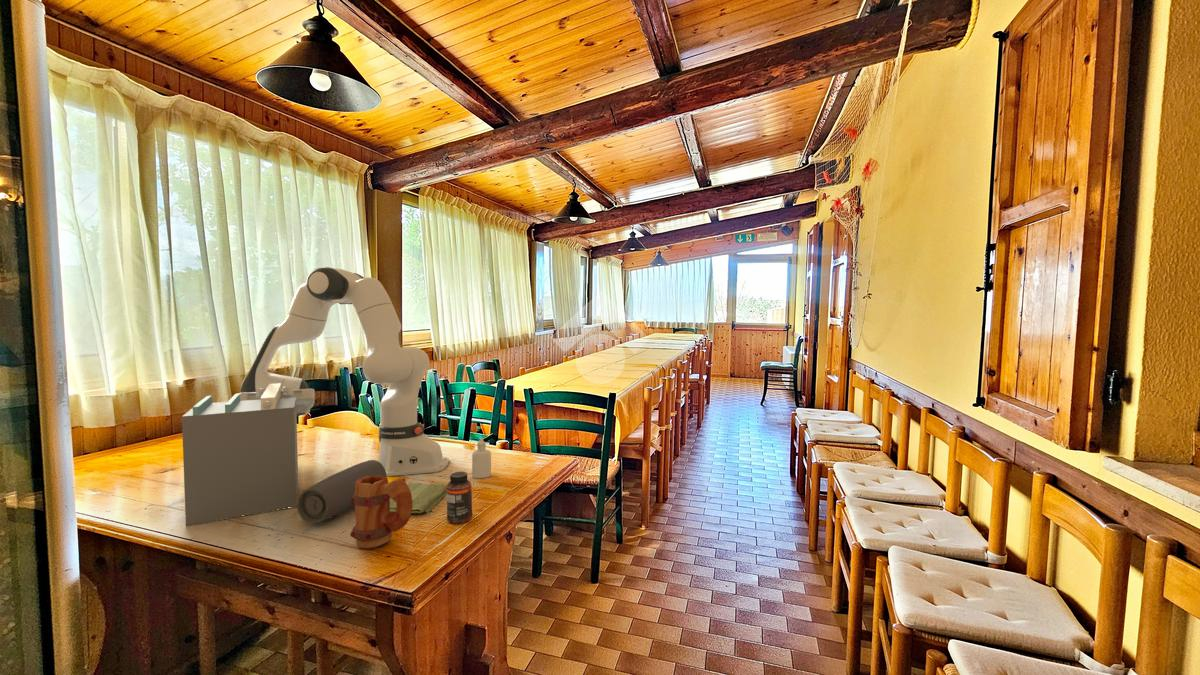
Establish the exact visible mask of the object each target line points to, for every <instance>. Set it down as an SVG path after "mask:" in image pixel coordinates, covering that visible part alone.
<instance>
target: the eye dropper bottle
mask: <svg viewBox="0 0 1200 675" xmlns="http://www.w3.org/2000/svg"><path fill="white" fill-rule="evenodd" d="M471 459H472V460H471V461H472V462H471V467H472V468H471V470H472V472H471V473H472V478H473V479H486V478H491V476H492V453H491V450H488V449H486V441H484V439H483V437H480V438H479V441H478V442H477V449H476V450H474V451H473V452H472V454H471Z"/></svg>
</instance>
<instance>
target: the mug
mask: <svg viewBox="0 0 1200 675" xmlns="http://www.w3.org/2000/svg"><path fill="white" fill-rule="evenodd" d="M407 484H408V483H407V482H406V480H405V479H403V478H402V477H401V478H400V477H399V478H396V479H393V480H391V481H389V479H388V476H387V477H384V476H376V477H374V476H366V477H362V478H361V479H357V481H356V483H355V493H354V494H353V497H352V498H351V499H350V502H351V503H353V504H355V508H354V513H355V525H354V526H353V528H352V531H351V532H350V533H349V534H350V537H351V538H353V539H354V540H355V542H356V544H357V546H358V547H359V548H361V549H373V548H377V547H380V546H383V545H384V544H386V543H388V542H389V541H390V540H392V538H393V533H395V532H397V531H400V530H401V529H403V528H404V526H406V524H408V522H409V520H410V519H411V516H412V513H411V512H412V502H413V501H412V495H411V491H410V489H409V487H408V485H407ZM390 498H392V499H393V500H394V501H395V502H396V503H397V504H396V512H395V513H391V512H390Z"/></svg>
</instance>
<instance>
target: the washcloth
mask: <svg viewBox="0 0 1200 675" xmlns="http://www.w3.org/2000/svg"><path fill="white" fill-rule="evenodd" d="M406 484H407V485H408V487H409V489H410V491H411V495H412V501H413V502H412V512H411V514H417V515H418V514H423V515H428V514H429V513H430V512H432V510H433V509H434V508H435V507H436V506H437V505H438V504H439V502H440V501H441V500H443V498H444V497H446V487H447V484H445V483H438V484H437V483H423V482H415V481H414V482H413V481H410V482H408V483H406ZM396 504H397V503H396V502H395V501H394V500H393V499H392V498H390V512H391V513H393V514H395V512H396Z"/></svg>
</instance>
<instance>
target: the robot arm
mask: <svg viewBox="0 0 1200 675" xmlns="http://www.w3.org/2000/svg"><path fill="white" fill-rule="evenodd" d="M336 304H339V305H352V306H353V307H354V309H355V312H356V315H357V317H358V320H359V322H360V325H361V328H362V330H363V332H364V335H365V339H366V346H367V347H366V348H367V352H366V357H365V358H364V361H363V363H362V373H363V375H364V377H365V378H366V380H368V382H370V383H373V384H377V385H388V387H387V389H386V392H385V393H384V394H383V396H382V398H381V400H380V403H379V404H380V405H379V408H380V409H379V410H380V411H379V413H380V417H379V418H380V421H379V422H380V425H379V426H378V427H379V428H378V440H379V442H378V443H379V452H378V457H377V461H378V462H380V463H381V464H382V465H383V467H384V468H385V471H386V475H387V477H396V476H405V475H407V476H408V475H417V474H418V475H419V474H429V473H430V474H431V473H438V472H441V471H443V470H445V469H446V468H448V466H449V464H450V460H449V459H450V458H449V457H448V456H443V451H442V449H441V445H440V444H439V442H437V441H435V440H433V439H432V438H430V437H429V436H428V435H426V434H425V433H424V430H425V429H424V428H425V423H423V424H421V423H420V422H418V398H419V392H420V388H421V385H422V381H423V378H424V376H425V374H426V372H427V371H428V370H429V367H430V358H429V356H428V354H427V353H426V351H424V350H423V349H421V348H419V347H412V346H406V347H401V344H400V341H399V340H400V339H399V333H400V332H401V330H402V324H401V322H400V319H399V317H398V314H397V311H396V310H395V306H394V305H393V302H392V299H391V298H390V296H389V294H388V292H387V290H386V289H385V287H384V286H383V284H382V282H380V280H378V279H377V278H375V277H365V276H362V274H359V273H355V272H351V271H348V270H345V269H342V268H332V267H329V266H322V267H317V268H314V269H313V270H311V271H310V272H309V274H308V275H307V277H306V282H305V283H303V284H301V285H300V286H299V287H298V288H297V290H296V292H295V294H294V296H293V298H292V301H291V305H290V307H289V309H288V310H289V311H288V314H287V316H286V318H285V320H283V322H281V324H277V325H274V326H273V327H272V328H271V330H270V331H269V333H268V334H267V336H266V338H265V339H264V341H263V343H262V345H261V347H260V349H259V351H258V354H257V355H256V357H255V359H254V361H253V364H252V365H251V368H250V369H249V371H248V373H247V374H246V376H245V377H244V379H243V380H242V382H241V385H240V392H239V393H238V392H237V393H236V394H240V401H247V400H261V397H262V395H263V393H264V392H265V390H266V388H267V387H268V385H269V384H278V383H281V396H280V398H289V397H296V412H297V417H300V416H305V415H308V414H310V412H311V409H312V408H313V407H314V405H315V400H316V399H315V397H316V396H315V395H316V392H315V389H314V388H309V386H308V383H307V382H306V380H305V379H304V378H301V377H295V376H292V375H291V376H290V375H284V374H283V375H282V374H277V373H272V372H269V371H268V369H269V367H270V364H271V363H272V361H273V359H274V357H275V355H276V352H277V351H278V349H279V348H280V347H282V346H288V345H294V344H302V343H308V342H312V341H314V340H316V339H317V338H320V336H322V334H323V332H324V330H325V327H326V324H327V320H328V317H329V312H330V309H331V307H332V306H333V305H336Z"/></svg>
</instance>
